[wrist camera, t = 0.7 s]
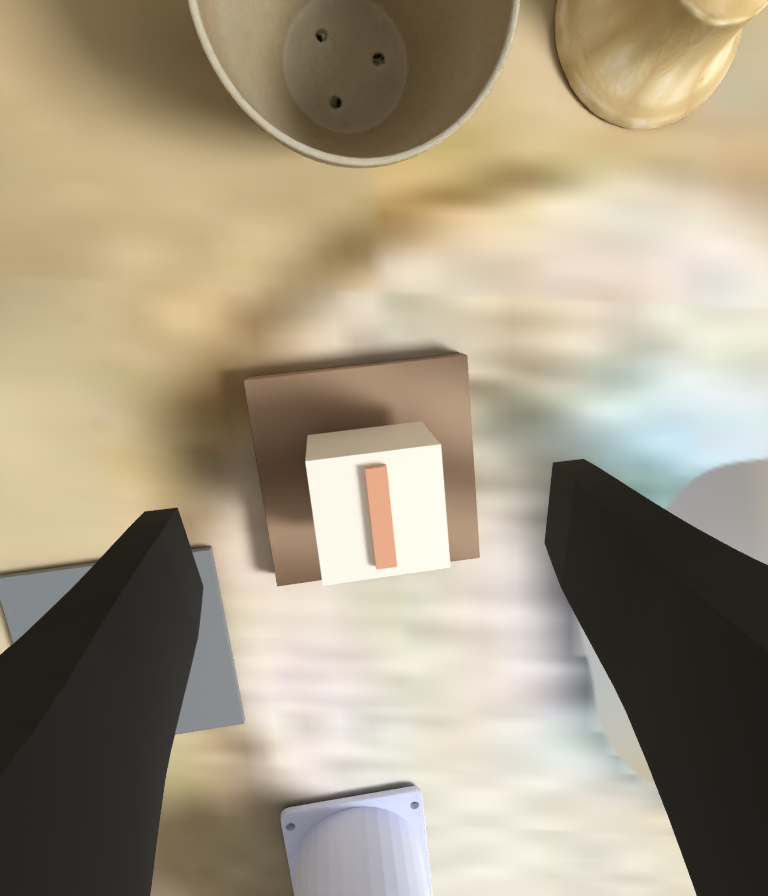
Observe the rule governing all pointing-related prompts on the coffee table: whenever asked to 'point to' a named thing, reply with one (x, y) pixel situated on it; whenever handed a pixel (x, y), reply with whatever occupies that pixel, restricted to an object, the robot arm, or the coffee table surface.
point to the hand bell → (648, 54)
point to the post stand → (347, 408)
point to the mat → (212, 668)
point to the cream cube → (377, 502)
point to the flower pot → (357, 70)
